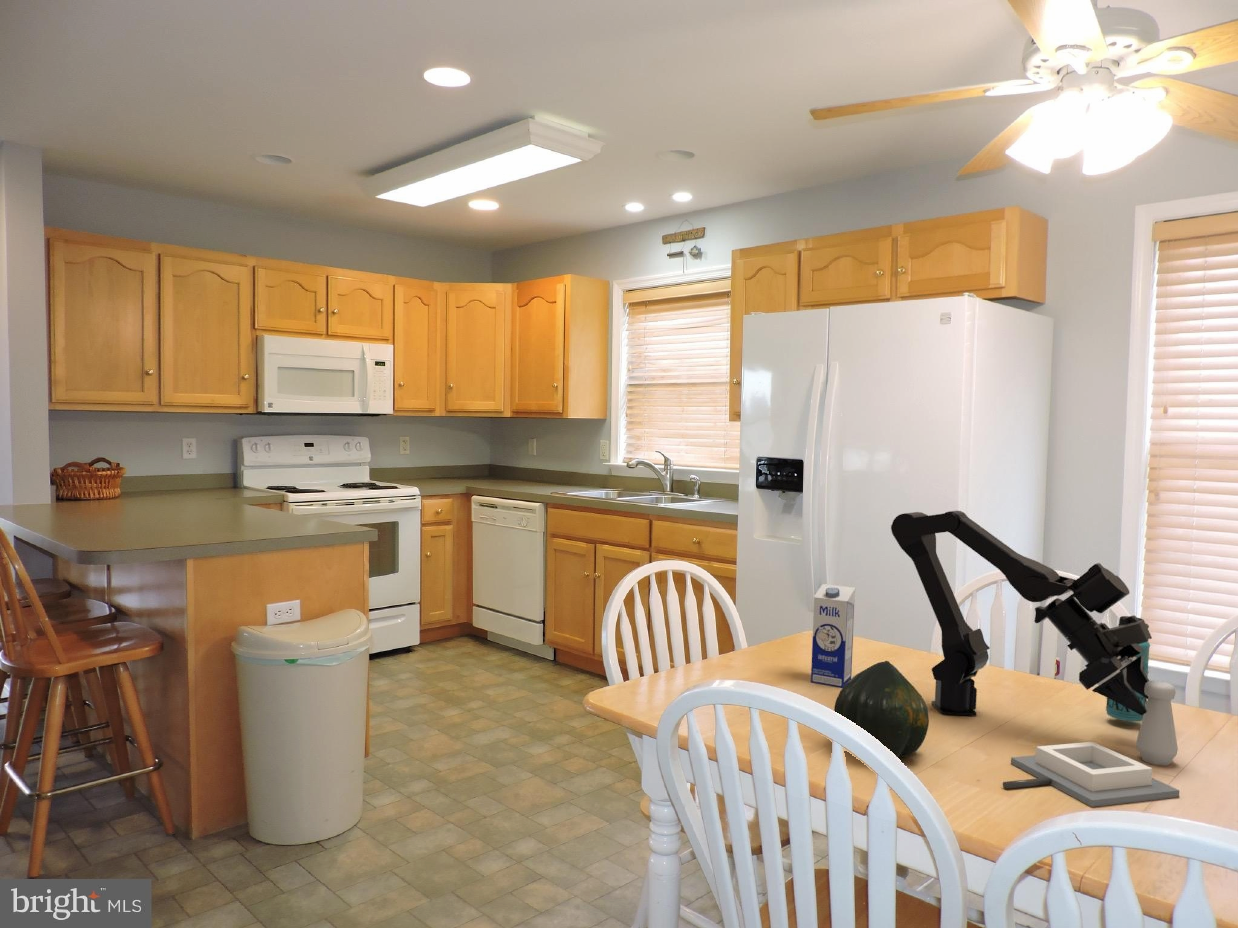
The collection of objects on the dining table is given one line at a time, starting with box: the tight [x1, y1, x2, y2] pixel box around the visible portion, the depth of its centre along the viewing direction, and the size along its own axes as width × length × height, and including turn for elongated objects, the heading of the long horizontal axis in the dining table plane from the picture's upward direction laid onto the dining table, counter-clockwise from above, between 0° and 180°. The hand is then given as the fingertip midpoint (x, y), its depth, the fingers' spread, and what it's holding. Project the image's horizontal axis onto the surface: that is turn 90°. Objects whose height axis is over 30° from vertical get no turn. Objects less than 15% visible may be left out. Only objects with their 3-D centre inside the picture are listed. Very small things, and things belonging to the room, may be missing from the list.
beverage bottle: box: [1105, 615, 1151, 723], centre depth 156 cm, size 6×7×20 cm
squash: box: [833, 660, 930, 758], centre depth 140 cm, size 14×15×15 cm
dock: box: [1002, 741, 1180, 808], centre depth 129 cm, size 24×16×4 cm, turn 106°
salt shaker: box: [1135, 680, 1179, 767], centre depth 139 cm, size 6×6×13 cm
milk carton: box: [810, 583, 856, 689], centre depth 178 cm, size 7×7×20 cm
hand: (1150, 707), depth 139 cm, fingers open, 9 cm apart
